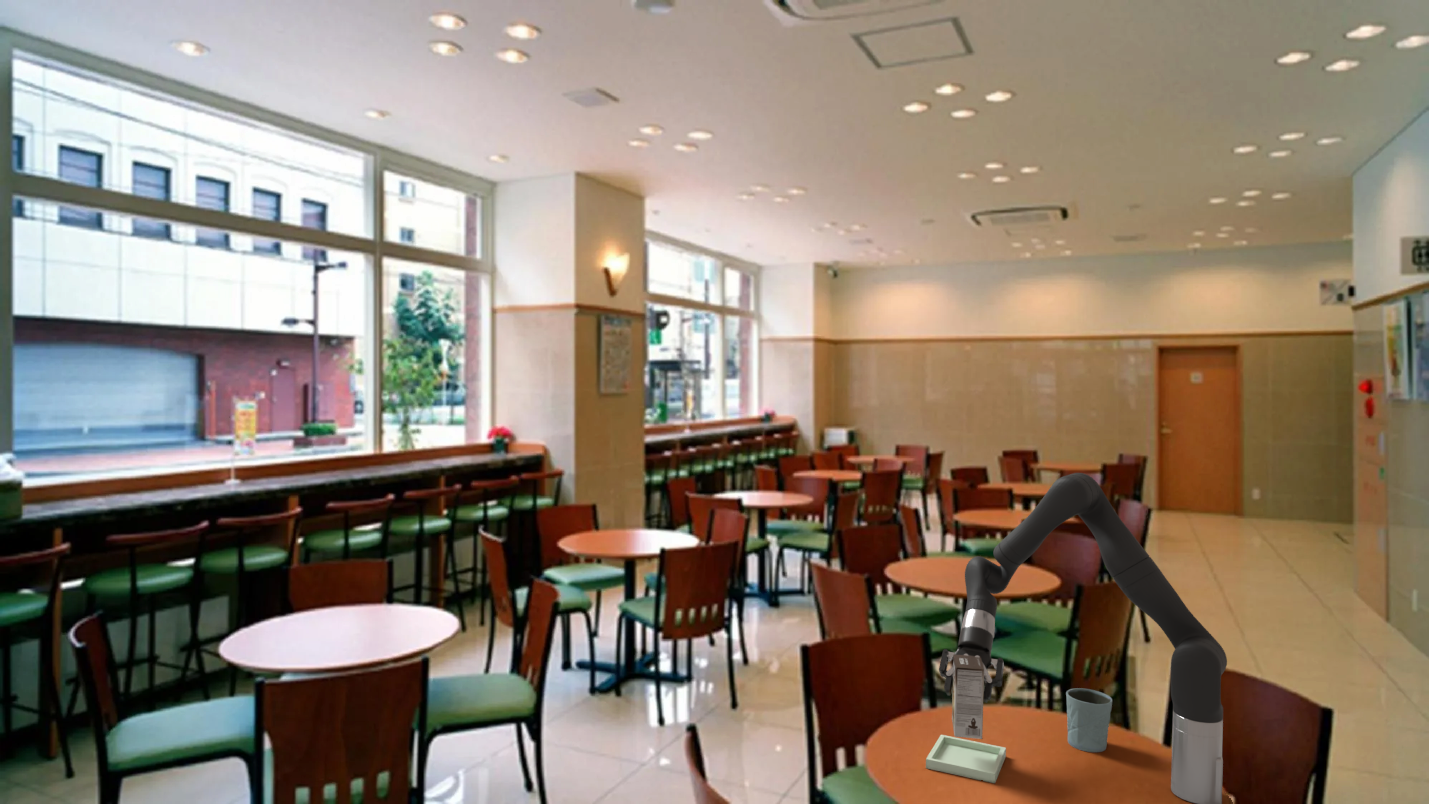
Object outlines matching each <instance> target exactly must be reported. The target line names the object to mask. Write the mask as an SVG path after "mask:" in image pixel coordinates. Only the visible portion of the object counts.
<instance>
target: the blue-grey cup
mask: <svg viewBox="0 0 1429 804" xmlns="http://www.w3.org/2000/svg"><path fill="white" fill-rule="evenodd" d="M1065 695H1066V718H1067V721H1066V722H1067V723H1066V725H1067V727H1066V728H1067V743H1068V745H1070V746H1071V747H1072V748H1074V749H1076V750H1080V751H1083V752H1088V753H1102V752H1104V751H1106V749H1107V744H1108V737H1109V736H1108V735H1109V734H1108V733H1109V727H1110V726H1109V725H1110V721H1111V712H1112V708H1113V706H1112V705H1113V698H1112V697H1111V696H1110V695H1109V694H1106V693H1104V692H1101V691H1098V690H1094V689H1090V688H1082V687H1081V688H1080V687H1079V688H1078V687H1077V688H1070V689H1068V690H1066V692H1065Z"/></svg>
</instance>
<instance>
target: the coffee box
mask: <svg viewBox="0 0 1429 804" xmlns="http://www.w3.org/2000/svg"><path fill="white" fill-rule="evenodd" d="M979 657H980V658H978V657H975V656H966V655H953V658H952V666H953V684H952V691H951V694H952V696H951V698H952V699H951V701H952V702H951V721H952V729H953V737H956V738H964V739H965V738H967V739H976V740H977V739H979V740H983V729H984V728H983V727H984V725H983V723H984V701H983V697H984V688H985V680H984V666H983V663H982V659H981V656H979Z"/></svg>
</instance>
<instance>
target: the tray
mask: <svg viewBox="0 0 1429 804" xmlns="http://www.w3.org/2000/svg"><path fill="white" fill-rule="evenodd" d="M1006 754H1007V748H1006V746H1005V747H1004V746H999V745H995V744H989V743H985V742H980V741H974V740H970V739H965V738H962V737H955V736H950V735H946V734H940V735H939V737H938V739H937V740H936V742H935V744H934V745H933V747H932V749H931V750H930V752H929V753H928V754H927V756H926V759H925V769H929V770H932V771H937V772H941V773H947V774H951V775H956V776H960V777H965V778H968V779H972V780H977V781H981V780H983V781H982V782H987V783H991V784H996V782H997V779H998V777H999V774H1000V772H1001V769H1002V767H1003V764H1004V762H1005V760H1006V757H1007V755H1006Z"/></svg>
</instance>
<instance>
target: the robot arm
mask: <svg viewBox="0 0 1429 804" xmlns="http://www.w3.org/2000/svg"><path fill="white" fill-rule="evenodd" d="M1042 497H1043V498H1041V500H1040V501H1039V503H1038V504H1037V505H1036V507H1035V508H1034V509H1033V510H1032V511H1031V513H1030V514H1028V516H1027V517H1026V518H1025V519H1024V520H1023V521H1021V522H1020V523H1019V524H1018V525H1017V526H1016V527H1015V528H1014V529H1013V530H1012V531H1011V532H1009V533H1008V534H1007V535H1006V536H1005V537H1004V538H1003V539H1002V540H1001V541H1000V542H998V543H997V545H996V546H995V547H994V548H993V554H992V555H993V557H994V559H995V560H996V563H998V565H997V564H996V563H995V562H992V561H991V560H989V559H988V558H985V557H983V556H979V555H977V556H973V558H971V559H970V560H969V561H968V562H967V564H966V565H965V566H966V567H965V571H964V582H965V590H966V598H967V601H966V606H965V612H964V616H963V618H962V619H963V620H962V623H961V628H960V634H959V639H958V644H957V650H956V651H955V652H952V651H949V650H948V649H947V648H944V649H943V650H942V654H941V659H940V664H939V666H938V671H939V675H940V677H942V678H945V680H944V685H943V689H944V692H945V693H946V695H947V696H951V694H952V691H953V665H951V667H950V668H949V669H948V665H949V662H951V661H953V655H966V656H975V657H978V658H980V657H979V656H981V659H982V663H983V666H984V697H983V703H988V701H991V699H992V694H993V693H992V692H993V688H994V687H998V688H999V687H1002V684H1003V676H1004V669H1005V665H1004V659H1003V658H1002V657H998V658H992V655H991V654H992V649H993V643H994V638H995V629H996V626H995V625H996V624H995V623H996V616H997V608H998V601H997V598H996V597H995V596H994V595H997V594H1000V593H1002V592H1004V591H1005V590H1006V588H1007V587H1008V585H1009V583H1010V581H1011V580H1012V578H1013V577H1014V576H1015V575H1014V574H1015V573H1016V571H1017V570H1018V568H1019V567H1020V566H1021V565H1023V563H1024V562H1025V561H1026V560H1028V558H1030V557H1031V556H1032V555H1033V554H1034V553H1036V551H1037V550H1038V549H1039V548H1040V546H1042V544H1043V543H1044V541H1045V539H1046V538H1047V537H1048V536H1049V535H1050V534H1051V533H1052V532H1053V531H1054V530H1055V529H1057V527H1059V526H1061V525H1062V524H1063V523H1066V521H1068V520H1070V519H1071V518H1073V517H1075V516H1078V517H1079V518H1080V519H1081V520H1082V521H1083V523H1084V524H1085V525H1086V526H1087V528H1088V529H1089V530H1090V532H1091V533H1092V535H1093V536H1094V539H1095V541H1096V543H1097V546H1098V549H1099V552H1100V556H1101V558H1102V562H1103V564H1104V566H1105V569H1106V570H1107V572H1108V573H1109V575H1110V577H1111V578H1112V579H1113V581H1114V582H1115V583H1116V585H1117V586H1118V588H1120V589H1119V590H1121V591H1122V593H1123V594H1124V595H1125V596H1126V598H1127V599H1129V601H1131V602H1132V603H1133V604H1134V606H1137V607H1138V609H1140V610H1141V611H1142V612H1143V613H1145V614H1146V615H1147V616H1148V617H1149V618H1151V619H1152V620H1153V621H1154V622H1155V623H1156V625H1158V626H1159V627H1160V629H1161V630H1162V632H1163V633H1164V634H1165V636H1166V637H1167V638H1168V640H1169V642H1170V643H1171V644H1172V646H1173V648H1174V650H1173V651H1172V652H1173V653H1172V656H1171V662H1170V698H1171V701H1172V733H1171V737H1172V738H1171V747H1172V748H1171V773H1170V774H1171V775H1170V777H1171V778H1170V790H1171V792H1172V793H1173V794H1174V795H1175V796H1177V798H1180V799H1182V800H1184V801H1187V802H1189V803H1192V804H1223V777H1224V775H1223V771H1224V770H1223V769H1224V768H1223V767H1224V765H1223V764H1224V760H1223V736H1224V735H1223V731H1224V729H1223V727H1224V723H1223V722H1224V706H1223V705H1222V701H1221V699H1222V698H1221V693H1222V692H1221V691H1222V690H1221V685H1222V683H1221V682H1222V675H1223V674H1224V672H1225V671H1226V668H1227V665H1228V659H1227V654H1226V652H1225V650H1224V648H1223V647H1222V645H1221V644H1220V643H1219V641H1218V640H1216V638H1215V637H1214V636H1213V635H1212V634H1211V633H1210V632H1209V631H1208V629H1206V628H1205V626H1204V625H1203V624H1202V623H1201V622H1200V621H1199V620H1198V619H1197V618H1196V617H1195V616H1194V614H1193V613H1192V612H1191V611H1190V609H1189V608H1188V607H1187V606H1186V604H1185V603H1184V601H1183V599H1182V598H1181V597H1180V596H1179V594H1178V593H1177V592H1176V590H1175V588H1174V587H1173V586H1172V585H1171V583H1170V581H1169V580H1168V579H1167V577H1166V576H1165V575H1164V573H1163V572H1162V570H1161V569H1160V568H1159V566H1158V565H1157V564H1156V563H1155V561H1154V560H1153V559H1152V557H1151V556H1150V555H1149V553H1148V552H1147V550H1145V548H1144V547H1143V546H1142V545H1141V544H1140V542H1139V541H1138V539H1136V537H1135V536H1134V535H1133V533H1132V531H1131V530H1130V529H1129V528H1128V526H1126V524H1125V523H1124V522H1123V520H1122V519H1121V518H1120V516H1119V515H1118V514H1117V512H1116V510H1115V509H1114V507H1113V506H1112V504H1111V502H1110V501H1109V499H1108V497H1107V496H1106V494H1105V492H1104V490H1103V489H1102V487H1101V486H1100V485H1099V483H1098V482H1097V481H1096V480H1095V478H1094V477H1092V476H1090V475H1088V474H1087V473H1083V472H1073V473H1071V474H1067V475H1064V476H1061V477H1059V478H1057V479H1056V480H1055V481H1054V482H1053V483H1052V485H1050V487H1049V488H1048V490H1047V492H1046V493H1045V494H1044V496H1042ZM992 665H993V668H994V669H995V677H994V678H992V677H991V676H990V674H989V672H988V670H987V669H988V668H990V667H991V666H992ZM947 669H948V670H947Z"/></svg>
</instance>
